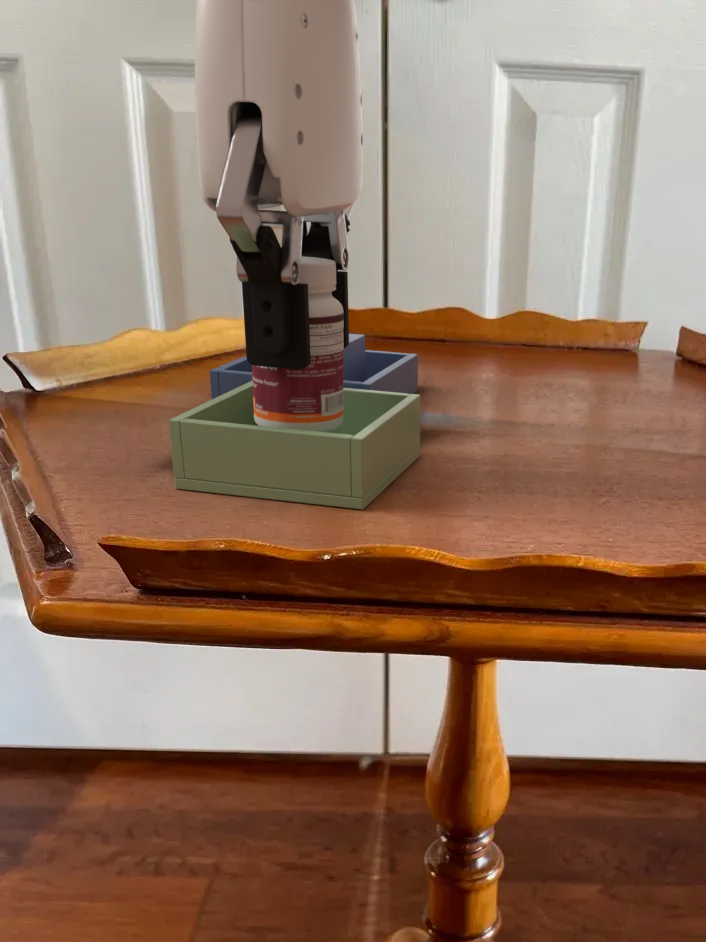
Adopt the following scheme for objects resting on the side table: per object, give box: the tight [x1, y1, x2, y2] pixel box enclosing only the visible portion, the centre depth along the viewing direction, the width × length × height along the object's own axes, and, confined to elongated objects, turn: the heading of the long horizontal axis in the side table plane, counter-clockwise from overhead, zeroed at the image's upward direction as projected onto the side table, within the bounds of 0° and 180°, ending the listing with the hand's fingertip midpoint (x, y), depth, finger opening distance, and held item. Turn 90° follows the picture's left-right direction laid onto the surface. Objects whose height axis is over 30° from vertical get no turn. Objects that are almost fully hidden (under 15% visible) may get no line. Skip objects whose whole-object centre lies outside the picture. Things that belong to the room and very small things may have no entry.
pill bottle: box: [252, 256, 344, 432], centre depth 53 cm, size 5×5×8 cm
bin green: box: [168, 381, 422, 510], centre depth 55 cm, size 10×10×4 cm
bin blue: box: [209, 349, 419, 400], centre depth 66 cm, size 10×10×4 cm
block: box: [343, 333, 366, 382], centre depth 66 cm, size 4×4×4 cm
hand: (300, 352), depth 53 cm, fingers closed on pill bottle, 4 cm apart
